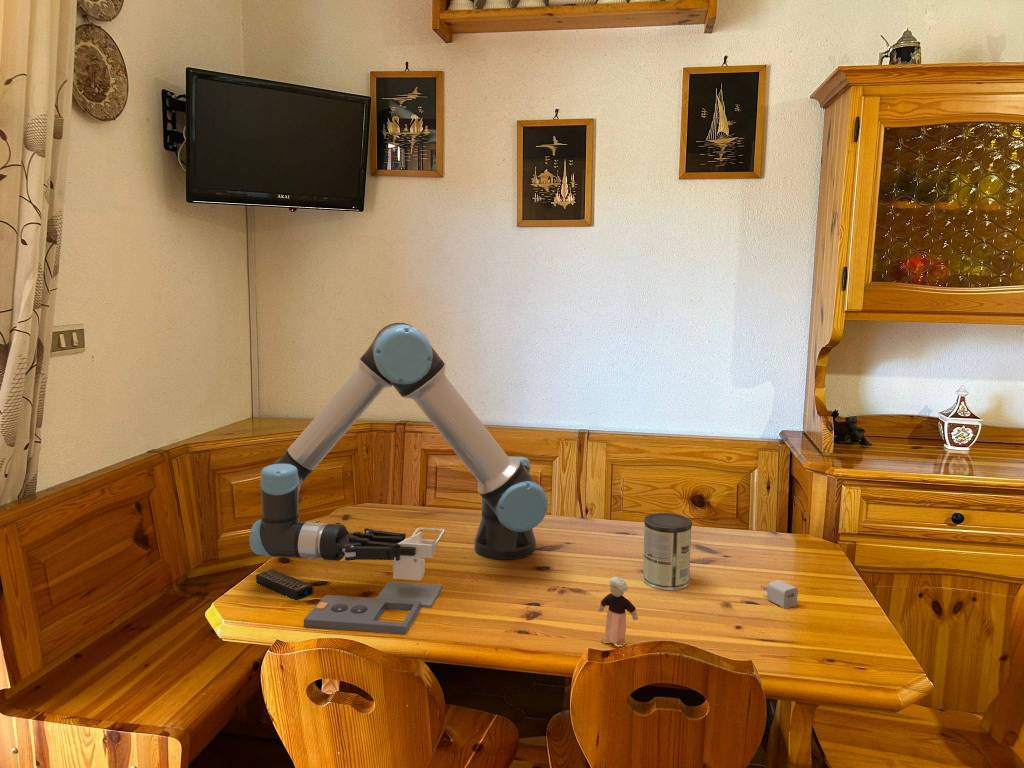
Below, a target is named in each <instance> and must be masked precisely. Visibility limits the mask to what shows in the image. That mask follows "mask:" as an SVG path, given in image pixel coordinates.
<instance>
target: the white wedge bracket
mask: <svg viewBox="0 0 1024 768" xmlns="http://www.w3.org/2000/svg"><path fill="white" fill-rule="evenodd" d="M412 535H413V534H412ZM412 535H411V536H409V537H406V538H407V539H405V540H403V541H401V542H399V543H397V544H400V546H401V543H402V542H406V543H421V544H422V539H423V531H419V532H418V533H417V534H415V535H413V536H412ZM425 559H426V558H421V557H407V556H401V555H400V560H398V561H396V557H394V560H392V562H393V563H392V572H393V573H392V574H393V577H392V578H393V579H394V580H395V579H396V580H409V581H411V580H412V581H421V580H422V579H423V577H424V575H425V573H426V572H425V571H426V570H425V568H426V566H425V563H426V562H425Z"/></svg>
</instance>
